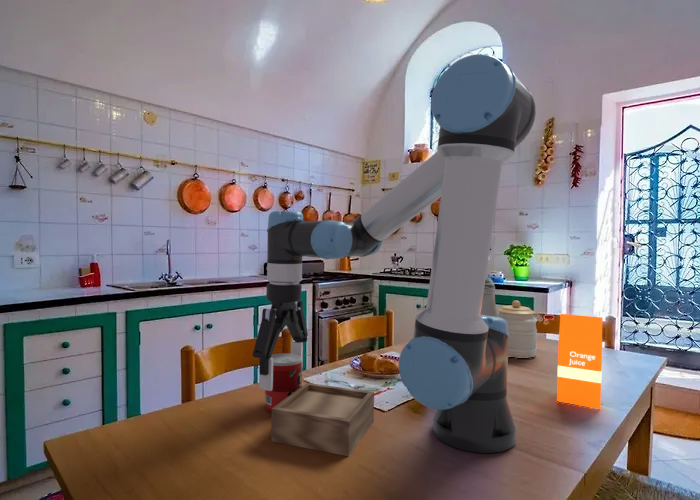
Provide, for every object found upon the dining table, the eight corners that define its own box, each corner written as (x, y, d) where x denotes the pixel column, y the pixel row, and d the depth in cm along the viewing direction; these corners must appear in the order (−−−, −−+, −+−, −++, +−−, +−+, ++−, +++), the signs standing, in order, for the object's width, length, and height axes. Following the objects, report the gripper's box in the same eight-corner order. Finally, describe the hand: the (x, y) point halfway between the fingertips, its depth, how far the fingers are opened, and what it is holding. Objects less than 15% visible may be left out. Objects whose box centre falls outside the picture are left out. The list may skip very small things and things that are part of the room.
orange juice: (559, 392, 106) (561, 311, 105) (600, 399, 101) (603, 315, 101) (556, 402, 99) (558, 316, 98) (600, 410, 94) (603, 320, 94)
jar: (490, 348, 147) (492, 297, 147) (530, 349, 146) (531, 298, 145) (498, 358, 135) (499, 302, 134) (541, 360, 133) (543, 304, 132)
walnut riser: (373, 421, 87) (374, 392, 87) (348, 456, 73) (349, 421, 73) (306, 410, 92) (307, 382, 92) (271, 441, 78) (271, 408, 78)
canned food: (294, 416, 89) (295, 364, 89) (258, 412, 91) (259, 361, 90) (305, 402, 97) (306, 354, 96) (272, 399, 98) (272, 352, 98)
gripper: (295, 276, 106) (293, 361, 107) (235, 287, 82) (233, 396, 83) (322, 278, 103) (320, 365, 104) (269, 290, 80) (267, 402, 81)
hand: (282, 379), depth 94 cm, fingers open, 13 cm apart
